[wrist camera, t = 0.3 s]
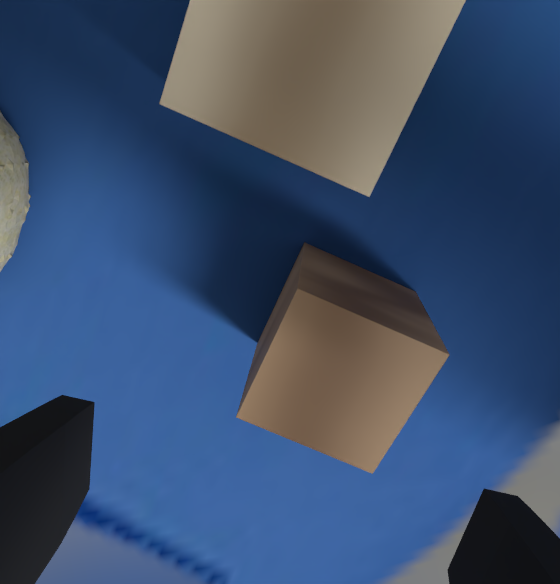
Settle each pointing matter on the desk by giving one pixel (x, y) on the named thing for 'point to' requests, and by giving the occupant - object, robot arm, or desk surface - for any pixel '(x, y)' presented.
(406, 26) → the beech base
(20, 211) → the sea urchin shell
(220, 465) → the desk surface
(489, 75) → the desk surface
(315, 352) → the walnut block
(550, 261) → the desk surface
